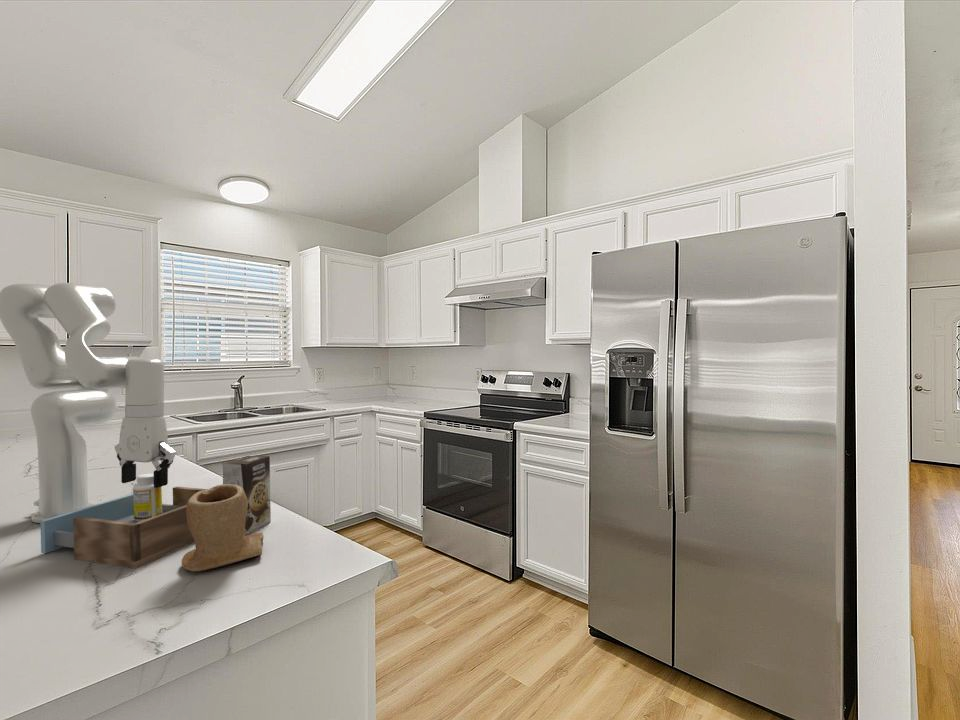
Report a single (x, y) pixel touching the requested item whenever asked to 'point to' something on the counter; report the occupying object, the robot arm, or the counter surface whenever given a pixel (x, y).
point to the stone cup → (219, 528)
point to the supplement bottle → (146, 498)
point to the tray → (61, 527)
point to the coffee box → (252, 487)
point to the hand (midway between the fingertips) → (144, 483)
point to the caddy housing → (134, 535)
